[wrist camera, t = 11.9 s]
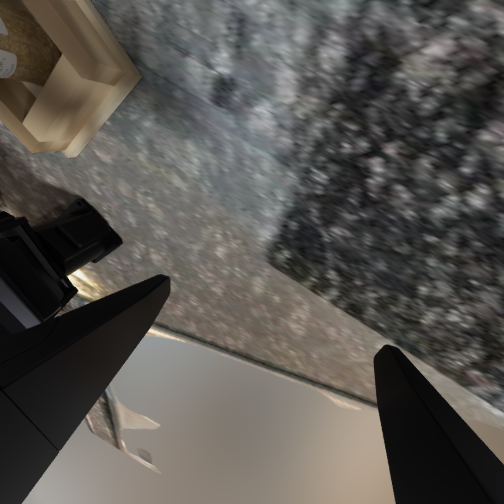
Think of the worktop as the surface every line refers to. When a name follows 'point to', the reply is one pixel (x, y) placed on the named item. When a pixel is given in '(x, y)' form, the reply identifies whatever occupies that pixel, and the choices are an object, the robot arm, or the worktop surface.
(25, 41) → the sprinkles bottle
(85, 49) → the caddy
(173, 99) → the worktop surface
